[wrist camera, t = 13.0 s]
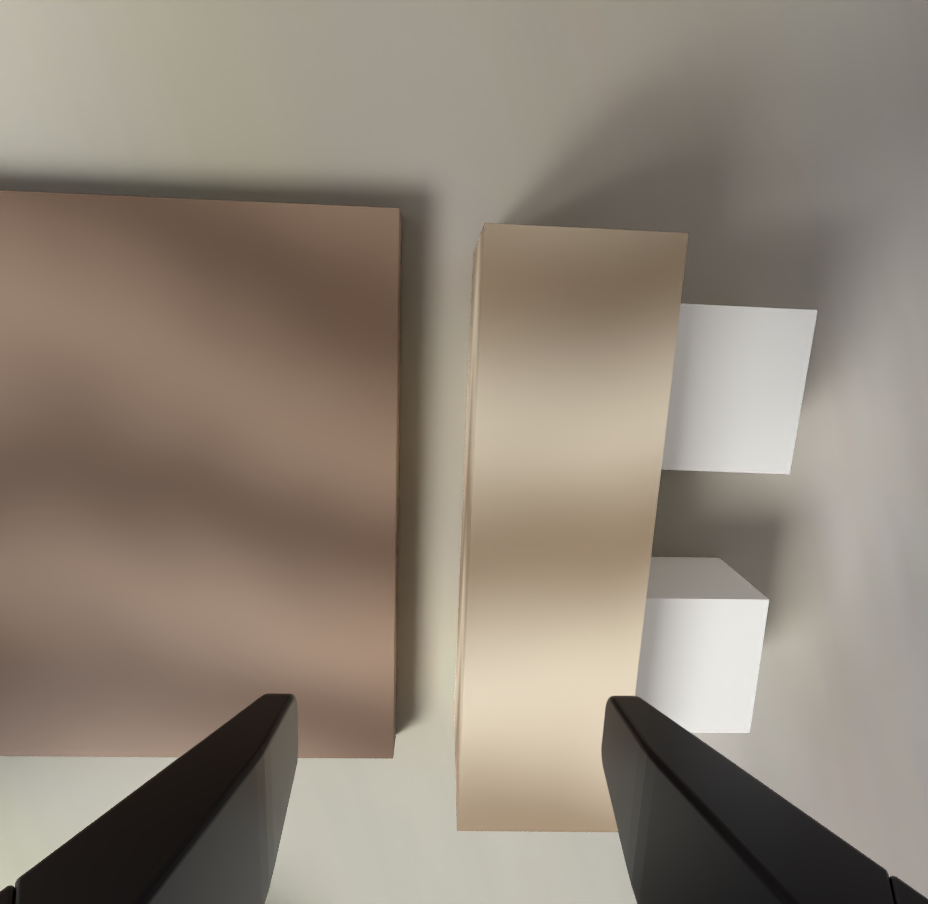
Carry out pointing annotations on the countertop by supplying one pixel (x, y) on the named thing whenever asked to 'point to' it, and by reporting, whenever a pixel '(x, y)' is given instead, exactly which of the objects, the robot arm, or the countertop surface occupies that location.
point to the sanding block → (557, 511)
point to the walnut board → (197, 471)
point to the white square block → (737, 388)
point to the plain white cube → (701, 644)
